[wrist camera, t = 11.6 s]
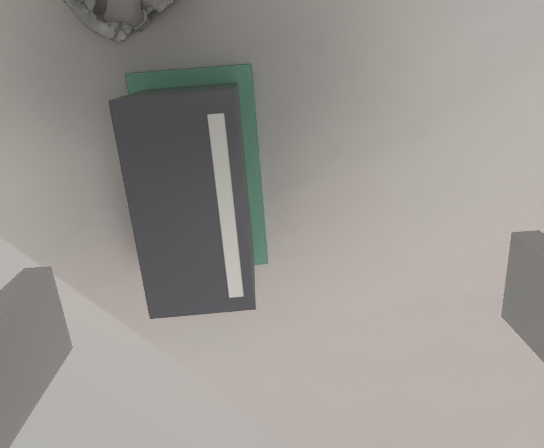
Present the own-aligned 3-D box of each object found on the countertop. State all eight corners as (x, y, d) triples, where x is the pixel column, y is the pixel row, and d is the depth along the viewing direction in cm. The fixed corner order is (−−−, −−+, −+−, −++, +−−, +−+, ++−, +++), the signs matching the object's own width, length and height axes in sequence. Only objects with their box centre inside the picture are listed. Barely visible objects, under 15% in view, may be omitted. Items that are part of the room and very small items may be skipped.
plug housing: (144, 89, 29) (107, 100, 22) (237, 82, 29) (234, 90, 22) (171, 260, 33) (149, 320, 26) (253, 253, 33) (255, 311, 26)
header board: (127, 73, 29) (101, 76, 24) (251, 63, 30) (251, 65, 24) (161, 269, 34) (145, 308, 29) (267, 260, 34) (271, 296, 29)
